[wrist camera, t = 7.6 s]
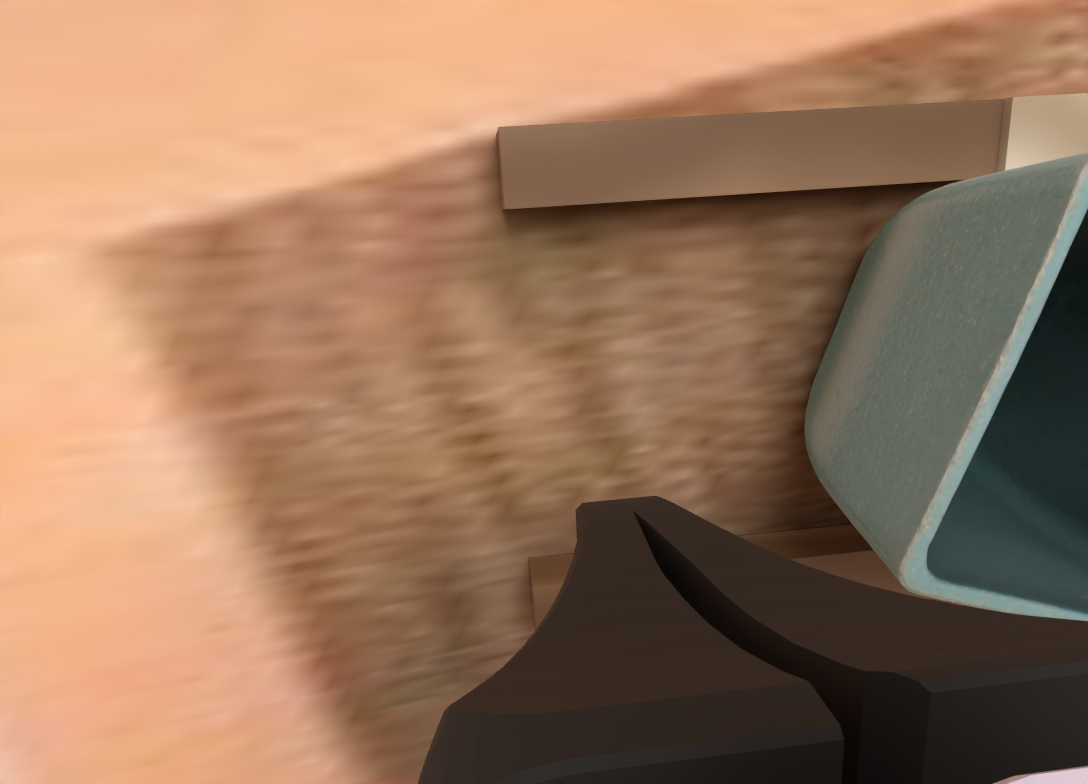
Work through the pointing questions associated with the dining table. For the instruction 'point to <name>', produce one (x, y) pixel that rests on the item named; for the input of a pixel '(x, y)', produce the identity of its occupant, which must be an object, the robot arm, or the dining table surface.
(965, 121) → the wooden frame
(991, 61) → the dining table surface
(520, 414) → the dining table surface
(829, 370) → the flower pot
